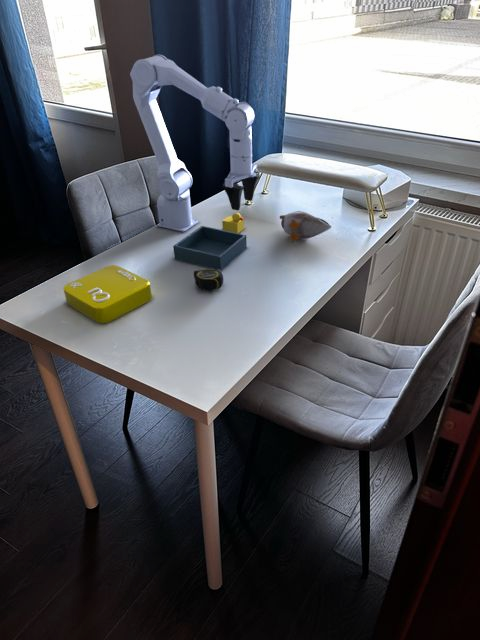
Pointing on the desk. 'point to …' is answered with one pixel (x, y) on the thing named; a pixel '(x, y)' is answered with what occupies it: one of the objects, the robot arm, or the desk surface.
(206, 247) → the blue square tray
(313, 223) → the decorative duck model
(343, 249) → the desk surface
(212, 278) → the tape measure
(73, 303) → the element tile
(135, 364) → the desk surface
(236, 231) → the rubber duck
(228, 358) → the desk surface
